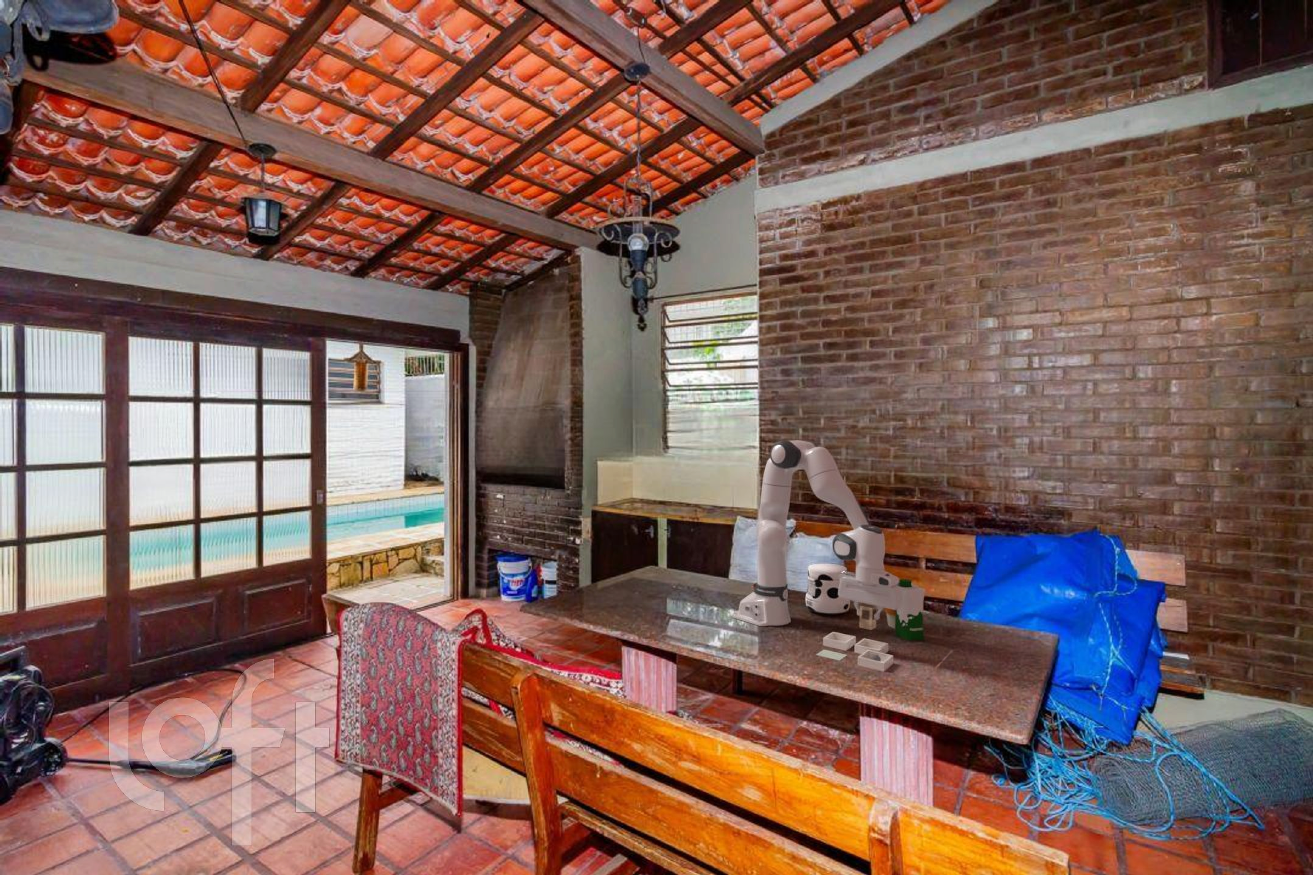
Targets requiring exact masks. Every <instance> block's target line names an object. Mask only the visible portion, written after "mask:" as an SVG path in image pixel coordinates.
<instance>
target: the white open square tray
mask: <svg viewBox="0 0 1313 875" xmlns="http://www.w3.org/2000/svg"><path fill="white" fill-rule="evenodd" d="M855 644H857V637H856V635H852V634H851V635H850V634H844V633H841V632H837V631H836V632H835V631H832V632H831V633H828V634H827V635H825V636H824V637H822V646H824V647H829V648H833V649H837V650H841V651H849V650H850V649H851V648H852V647H855Z"/></svg>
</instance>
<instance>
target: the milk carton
mask: <svg viewBox="0 0 1313 875" xmlns="http://www.w3.org/2000/svg"><path fill="white" fill-rule="evenodd" d="M912 584H913V583H912V580H911V579H907V578H899V585H898V586H899V588H900V590H901V607H900V608H898V609H896V610H895V628H894V636H895V637H896V638H899V639H903V640H906V642H911V641H915V642H918V641H919V642H920V641H925V630H924V629H925V628H924V598H925V595H926V594H925V593H926V589H925V588H923V587H920V586H918V585H916V584H913V585H912ZM915 585H916V586H915Z"/></svg>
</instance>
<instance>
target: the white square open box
mask: <svg viewBox="0 0 1313 875" xmlns="http://www.w3.org/2000/svg"><path fill="white" fill-rule="evenodd" d="M874 654H876V655H878V656H879V657H880V659H881V661H875V660H871V659H870V658H871V656H872V655H874ZM893 664H894V655H892V654H888V653H885V654H884V653H880V652H875V651H871V650H866V651H865V652H864V653H862V654H859V655H858V656H857V666H860V667H864V668H866V669H872V670H876V671H880V672H885V671H887V670H888V669H889V668H890V667H891V666H893Z"/></svg>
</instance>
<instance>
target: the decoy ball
mask: <svg viewBox="0 0 1313 875" xmlns="http://www.w3.org/2000/svg"><path fill="white" fill-rule="evenodd" d="M870 659H871V660H875V661H881V659H880V657H879V656H878V655H876V654H874V655H872V656H871V658H870Z"/></svg>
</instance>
